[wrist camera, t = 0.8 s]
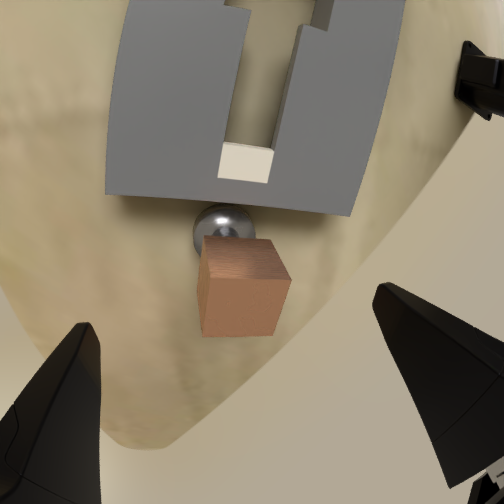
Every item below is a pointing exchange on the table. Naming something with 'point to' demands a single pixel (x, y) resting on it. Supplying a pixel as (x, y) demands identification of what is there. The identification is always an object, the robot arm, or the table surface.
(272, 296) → the key peg
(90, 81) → the table surface
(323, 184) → the keyhole plate
